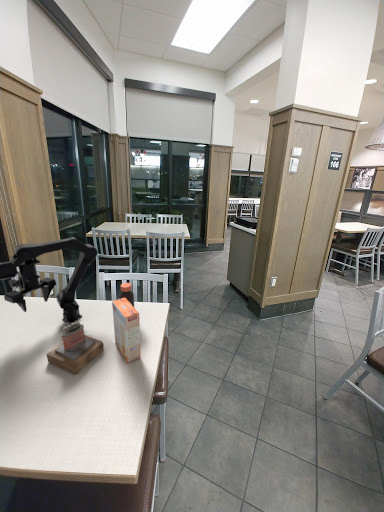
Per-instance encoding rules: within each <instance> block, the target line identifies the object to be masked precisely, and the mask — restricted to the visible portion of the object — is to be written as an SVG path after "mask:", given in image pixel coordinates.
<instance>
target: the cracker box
mask: <svg viewBox="0 0 384 512" xmlns="http://www.w3.org/2000/svg"><path fill="white" fill-rule="evenodd" d="M111 304H112V317H113V330H114V341H115V345H116V346H117V348H118V350H119V351H120V354H121V355H122V357H123V358H124V360H125V361H126V363H127V364H128V363H131V362H133V361H135V360H137V359H139V358H141V330H140V313H139V311H138V310H137V308H135V306H134V307H133V306H132V305H131V304H130V302H129V301H128V300H127V299H126V298H122V299H119V298H118V299H115V300H112V301H111Z"/></svg>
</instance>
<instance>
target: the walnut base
mask: <svg viewBox="0 0 384 512" xmlns="http://www.w3.org/2000/svg"><path fill="white" fill-rule="evenodd" d="M84 336H85V339H86V342H85V343H84V344H82V345H81V346H79V347H78V348H76V349H74V350H72V351H69V352H65V351H64V344H63V341H62V342H61V343H60V344H59V345H57V346H56V347H54V348H52V349H51V350H50V351H48V352H47V353H46V359H47V362H48V364H51V365H53V366H54V367H55V366H56V367H57V368H59V369H62V370H64V371H66V372H68V373H70V374H72V375H74V376H76V375H77V374H78V373H79V372H81V371H82V370H83V369H84V368H86V366H87V365H88V364H89V363H90V362H92V361H93V360H94V359H95V358H96V357H97V356H98V355H99V354H100V353H102V351H104V350H105V349H104V342H103V341H102V340H100V339H98V338H94V337H92V336H89V335H86V334H84Z"/></svg>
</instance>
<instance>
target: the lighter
mask: <svg viewBox="0 0 384 512" xmlns="http://www.w3.org/2000/svg"><path fill="white" fill-rule="evenodd" d="M84 330H85V329H84V324H83V323H81V322H80V321H79V320H77V321H75V322H73V323H69V325H66V326H64V327H63V328H62V331H61V334H60V335H61V338H62V342H63V344H64V351H65V352H69V351H72V350H74V349H76V348H78V347H79V346H81V345H82V344H84V343H85V342H86V339H85V336H84V335H85V331H84Z"/></svg>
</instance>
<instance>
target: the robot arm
mask: <svg viewBox="0 0 384 512" xmlns="http://www.w3.org/2000/svg"><path fill="white" fill-rule="evenodd" d="M71 248H74V249H76V250H78V251H79V254H78V255H79V257H78V258H79V259H78V262H77V264H76V266H75V268H74V270H73V272H72V274H71V277H70V279H69V280H68V282H67V285H66V286H65V287H64V288H63V289H61V288H60V289H59V290H58V294H57V295H55V297H56V302H57V304H58V306H59V307H60V309H62V312H63V313H62V317H63V318H62V321H63V322H67V323H68V324H71V323H75V322H77V321H79V319H81V318H82V317H83V315H82V314H80V305H79V304H78V301H76V292H77V289H78V287H79V285H80V282H81V281H82V279H83V277H84V275H85V272H86V271H87V268H88V266H89V265H90V264H92V263H93V261H94V260H95V259H96V257H97V256H98V253H99V252H98V249H97V248H96V247H94V246H93V245H91V244H90V243H84V242H82V241H80V240H78V239H77V238H76V237H73V236H71V237H68V238H64V239H63V238H62V239H58V240H52V241H47V242H44V243H43V242H42V243H20V244H18V245H16V247H15V249H14V254H13V255H12V256H11V259H10V261H4V262H0V281H3V280H8V285H9V287H10V288H12V289H13V288H15V290H12V291H10V292H7V293H5V294H4V295H3V297H4V298H3V299H4V301H5V302H8V303H11V304H17V305H18V306H19V308H20V309H21V310H22V311H23V312H24V313H26V312H27V302H26V299H25V297H24V295H27V294H29V293H32V292H34V291H36V290H38V289H41V290H42V291H41V292H42V295H43V300H44V302H45V303H46V302H48V300H49V297H50V294H51V293H52V291H53V289H54V288H55V286H57V281H56V279H55V278H52V277H45V278H41V275H39V274H38V271H37V266H36V265H37V264H40V263H41V260H40V259H39V258H38V257H40V256H41V255H42V256H43V255H45V254H48V253H53V252H58V251H61V250H66V249H71ZM18 271H19V273H18ZM18 274H19V276H18V279H15V278H16V277H17V275H18ZM40 278H41V279H40ZM9 279H10V280H9ZM39 279H40V280H39ZM17 288H19V289H20V291H19V290H18V291H17V290H16V289H17Z"/></svg>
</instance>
